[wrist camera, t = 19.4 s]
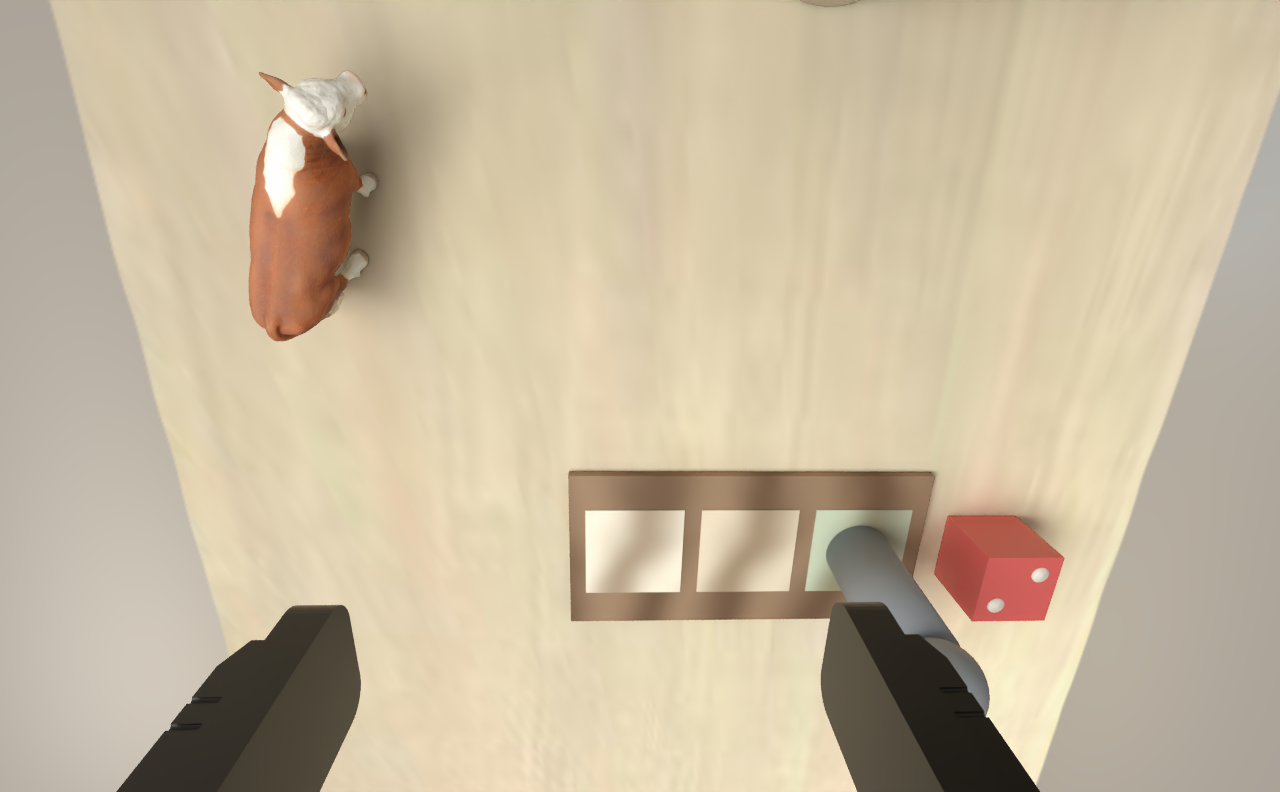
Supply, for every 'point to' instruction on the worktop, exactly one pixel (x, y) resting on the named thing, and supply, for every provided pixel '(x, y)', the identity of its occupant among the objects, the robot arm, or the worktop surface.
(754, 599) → the game track
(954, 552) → the red die
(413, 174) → the worktop surface
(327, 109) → the bull figurine
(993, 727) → the robot arm
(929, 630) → the pawn
